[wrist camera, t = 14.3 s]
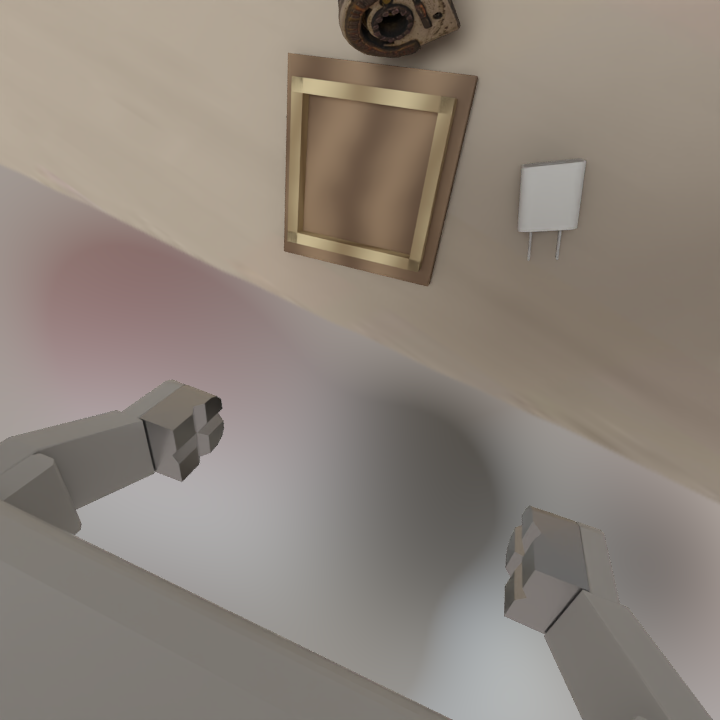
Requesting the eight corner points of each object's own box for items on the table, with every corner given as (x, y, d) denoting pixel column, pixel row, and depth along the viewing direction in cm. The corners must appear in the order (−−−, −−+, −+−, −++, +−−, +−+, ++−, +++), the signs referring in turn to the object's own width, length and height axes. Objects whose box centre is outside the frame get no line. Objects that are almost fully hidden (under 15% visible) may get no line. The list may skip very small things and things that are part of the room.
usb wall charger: (580, 157, 29) (587, 161, 26) (568, 252, 32) (573, 265, 29) (521, 164, 30) (522, 168, 27) (515, 253, 33) (515, 266, 30)
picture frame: (478, 77, 29) (475, 74, 27) (429, 283, 37) (425, 290, 35) (294, 55, 32) (280, 50, 30) (288, 248, 40) (278, 254, 39)
